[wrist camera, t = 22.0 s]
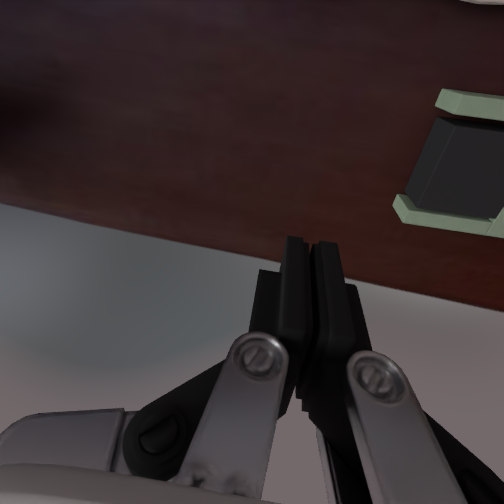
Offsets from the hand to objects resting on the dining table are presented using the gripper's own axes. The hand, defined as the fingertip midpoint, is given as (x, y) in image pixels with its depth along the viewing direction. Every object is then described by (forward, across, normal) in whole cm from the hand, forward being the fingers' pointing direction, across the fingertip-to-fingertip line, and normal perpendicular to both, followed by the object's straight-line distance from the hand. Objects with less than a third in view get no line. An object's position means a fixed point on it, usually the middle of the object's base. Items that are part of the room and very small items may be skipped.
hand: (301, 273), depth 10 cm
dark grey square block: (+19, -14, 0) cm, 24 cm away
